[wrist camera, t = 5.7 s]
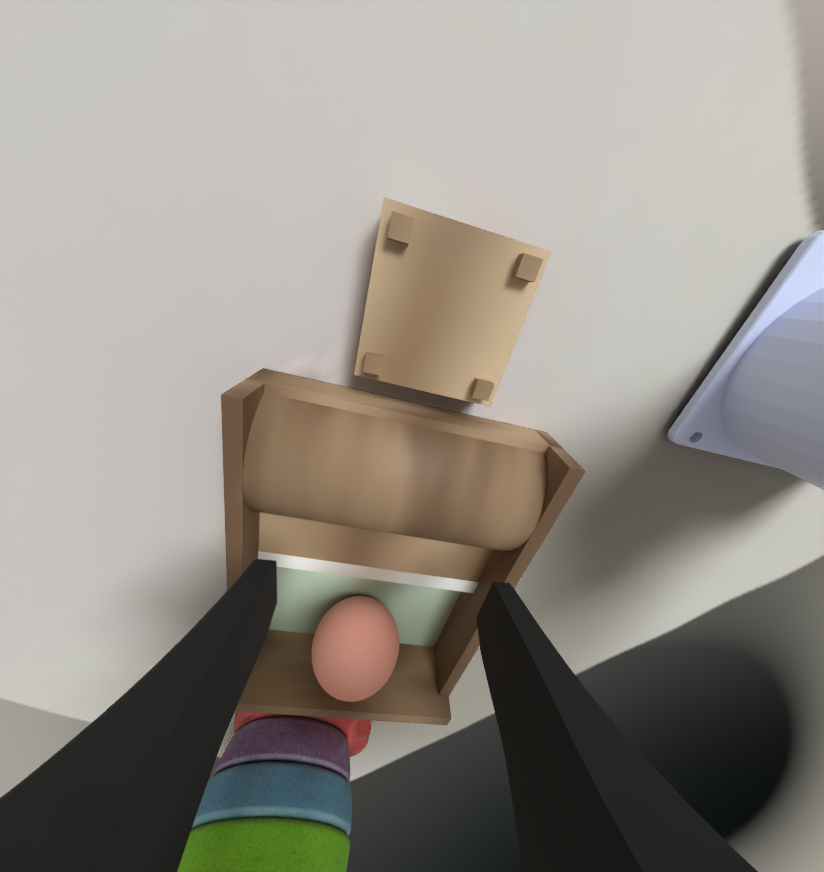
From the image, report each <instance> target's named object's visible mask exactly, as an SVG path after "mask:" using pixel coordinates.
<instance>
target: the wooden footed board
mask: <svg viewBox="0 0 824 872" xmlns="http://www.w3.org/2000/svg"><path fill="white" fill-rule="evenodd" d="M550 254H551V251H548V250H545V249H542V248H539V247H536V246H533V245H529V244H526V243H523V242H520V241H517V240H514V239H511V238H508V237H505V236H502V235H499V234H496V233H492V232H489V231H486V230H483V229H480V228H477V227H474V226H471V225H468V224H465V223H462V222H458V221H455V220H452V219H449V218H446V217H443V216H440V215H437V214H434V213H431V212H428V211H424V210H421V209H418V208H415V207H412V206H409V205H406V204H403V203H400V202H397V201H394V200H390V199H387V198H384V200H383V206H382V212H381V218H380V224H379V229H378V235H377V241H376V247H375V253H374V259H373V265H372V271H371V277H370V282H369V288H368V294H367V300H366V306H365V312H364V318H363V324H362V330H361V335H360V341H359V347H358V353H357V359H356V365H355V371H354V375H357V376H361V377H365V378H369V379H374V380H378V381H382V382H387V383H391V384H395V385H399V386H404V387H408V388H412V389H417V390H421V391H425V392H429V393H434V394H438V395H442V396H447V397H451V398H455V399H459V400H464V401H468V402H472V403H477V404H481V405H485V406H489V407H490V406H491V403H492V401H493V398H494V396H495V393H496V391H497V388H498V386H499V383H500V380H501V378H502V375H503V373H504V370H505V368H506V365H507V363H508V360H509V358H510V355H511V353H512V350H513V348H514V345H515V342H516V340H517V337H518V335H519V332H520V330H521V327H522V325H523V322H524V320H525V317H526V315H527V312H528V310H529V307H530V305H531V302H532V299H533V297H534V294H535V292H536V289H537V287H538V284H539V282H540V279H541V277H542V274H543V272H544V269H545V267H546V264H547V261H548V259H549V256H550Z"/></svg>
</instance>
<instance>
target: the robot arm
mask: <svg viewBox="0 0 824 872" xmlns="http://www.w3.org/2000/svg"><path fill="white" fill-rule="evenodd" d="M668 438H669V440H671V441H672V442H674V443H676V444H678V445H682V446H686V447H691V448H695V449H699V450H703V451H708V452H712V453H716V454H720V455H724V456H729V457H733V458H737V459H741V460H746V461H750V462H754V463H758V464H762V465H767V466H771V467H775V468H779V469H782V470H784V471H786V472H788V473H790V474H792V475H794V476H797V477H799V478H801V479H803V480H805V481H807V482H809V483H811V484H813V485H815V486H817V487H819V488H821V489H823V490H824V230H821V231H817V232H814V233H812V234H810V235H809V236H808V237H806V238H805V239H804V240H803V241H802V243H801V244H800V245H799V246H798V248H797V249H796V251H795V252H794V253H793V255H792V256H791V258H790V259H789V260H788V262H787V263H786V265H785V266H784V268H783V269H782V270H781V272H780V273H779V275H778V276H777V277H776V279H775V280H774V282H773V283H772V285H771V286H770V287H769V289H768V290H767V292H766V293H765V295H764V296H763V297H762V299H761V300H760V302H759V303H758V304H757V306H756V307H755V309H754V310H753V312H752V313H751V314H750V316H749V317H748V319H747V320H746V321H745V323H744V324H743V326H742V327H741V329H740V330H739V331H738V333H737V334H736V336H735V337H734V338H733V340H732V341H731V343H730V344H729V346H728V347H727V348H726V350H725V351H724V353H723V354H722V356H721V357H720V358H719V360H718V361H717V363H716V364H715V365H714V367H713V368H712V370H711V371H710V373H709V374H708V375H707V377H706V378H705V380H704V381H703V382H702V384H701V385H700V387H699V388H698V390H697V391H696V392H695V394H694V395H693V397H692V398H691V399H690V401H689V402H688V404H687V405H686V407H685V408H684V409H683V411H682V412H681V414H680V415H679V417H678V418H677V419H676V421H675V422H674V424H673V425H672V426H671V428H670V429H669V432H668ZM276 605H277V566H276V561H274V560H263V559H255V560H254V561H252V563H251V564H250V565H249V566H248V568H247V569H246V570H245V571H244V572H243V573H242V575H241V576H240V577H239V578H238V579H237V581H236V582H235V583H234V584H233V585H232V586H231V587H230V589H229V590H228V591H227V592H226V593H225V594H224V595H223V596H222V597H221V599H220V600H219V601H218V602H217V603H216V604H215V605H214V606H213V607H212V608H211V609H210V610H209V612H208V613H207V614H206V615H205V616H204V617H203V618H202V619H201V620H200V621H199V622H198V623H197V624H196V625H195V626H194V627H193V628H192V629H191V631H190V632H189V633H188V634H187V635H186V636H185V637H184V638H183V639H182V640H181V641H180V642H179V643H177V644H176V645H175V646H174V647H173V648H172V649H171V650H170V651H169V652H168V653H167V654H166V655H165V656H164V657H163V658H162V659H161V660H160V661H159V662H158V663H157V664H156V665H155V666H154V667H153V668H152V669H151V670H150V671H149V672H148V673H147V674H146V675H145V676H143V677H142V678H141V679H140V680H139V681H138V682H137V683H136V684H135V685H134V686H133V687H132V688H131V689H129V690H128V691H127V692H126V693H125V694H124V695H123V696H122V697H121V698H119V699H118V700H117V701H116V702H115V703H114V704H113V705H112V706H110V707H109V708H108V709H107V710H106V711H105V712H104V713H103V714H101V715H100V716H99V717H98V718H97V719H96V720H94V721H93V722H92V723H91V724H90V725H89V726H88V727H86V728H85V729H84V730H83V731H82V732H81V733H79V734H78V735H77V736H76V737H75V738H73V739H72V740H71V741H70V742H69V743H68V744H66V745H65V746H64V747H63V748H62V749H61V750H60V751H58V752H57V753H56V754H55V755H53V756H52V757H51V758H50V759H49V760H48V761H46V762H45V763H44V764H42V765H41V766H40V767H39V768H38V769H36V770H35V771H34V772H33V773H32V774H30V775H29V776H28V777H27V778H25V779H24V780H23V781H21V783H19V784H18V785H17V786H15V787H14V788H13V789H11V790H10V791H9V792H8V793H6V794H5V795H4V796H2V797H1V798H0V872H177V871H178V868H179V865H180V862H181V859H182V856H183V853H184V850H185V847H186V844H187V841H188V838H189V835H190V832H191V829H192V826H193V823H194V820H195V817H196V814H197V811H198V808H199V805H200V802H201V800H202V797H203V794H204V791H205V788H206V785H207V782H208V779H209V777H210V773H211V771H212V768H213V765H214V762H215V759H216V757H217V754H218V751H219V748H220V746H221V743H222V741H223V738H224V736H225V733H226V731H227V728H228V726H229V723H230V721H231V719H232V716H233V714H234V712H235V709H236V707H237V705H238V702H239V700H240V698H241V695H242V693H243V691H244V688H245V686H246V684H247V681H248V679H249V677H250V674H251V672H252V670H253V667H254V665H255V663H256V660H257V658H258V655H259V653H260V651H261V648H262V646H263V644H264V641H265V639H266V636H267V633H268V630H269V627H270V624H271V621H272V617H273V614H274V611H275V608H276ZM476 619H477V627H478V635H479V642H480V649H481V655H482V659H483V664H484V668H485V672H486V676H487V681H488V685H489V689H490V693H491V697H492V701H493V706H494V710H495V714H496V718H497V722H498V726H499V730H500V734H501V739H502V743H503V748H504V753H505V758H506V764H507V770H508V776H509V782H510V788H511V794H512V800H513V807H514V813H515V819H516V827H517V833H518V840H519V847H520V854H521V861H522V869H523V872H757V871H756V870H755V869H754V868H753V867H752V866H751V865H750V864H749V863H748V862H746V860H745V859H744V858H743V857H741V856H740V855H739V854H738V853H737V852H736V851H735V850H734V849H733V848H732V847H731V846H730V845H729V844H728V843H727V842H726V841H725V840H724V839H723V838H722V837H721V836H720V835H719V834H718V833H717V832H716V831H715V830H714V829H713V828H712V827H711V826H710V825H709V824H708V823H707V822H706V821H705V820H704V819H703V818H702V817H701V816H700V815H699V814H698V813H697V812H696V811H695V810H694V809H693V808H692V807H691V806H690V805H689V804H688V803H687V802H686V801H685V800H684V799H683V798H682V797H681V796H680V795H679V794H678V793H677V792H676V791H675V790H674V788H673V787H672V786H671V785H670V784H669V783H668V782H667V781H666V780H665V779H664V778H663V777H662V776H661V775H660V774H659V773H658V772H657V771H656V769H655V768H654V767H653V766H652V765H651V764H650V763H649V762H648V761H647V760H646V759H645V758H644V757H643V756H642V755H641V754H640V752H639V751H638V750H637V749H636V748H635V747H634V746H633V744H632V743H631V742H630V741H629V740H628V739H627V738H626V737H625V735H624V734H623V733H622V732H621V731H620V730H619V728H618V727H617V726H616V725H615V724H614V723H613V721H612V720H611V719H610V718H609V717H608V716H607V714H606V713H605V712H604V711H603V710H602V708H601V707H600V706H599V705H598V704H597V703H596V701H595V700H594V699H593V697H592V696H591V695H590V694H589V692H588V691H587V690H586V689H585V687H584V686H583V685H582V683H581V682H580V681H579V680H578V678H577V677H576V676H575V674H574V673H573V672H572V670H571V669H570V668H569V666H568V665H567V664H566V662H565V661H564V660H563V658H562V657H561V656H560V654H559V653H558V651H557V650H556V649H555V647H554V646H553V645H552V643H551V642H550V640H549V639H548V638H547V636H546V635H545V633H544V632H543V631H542V629H541V628H540V626H539V625H538V623H537V622H536V620H535V619H534V618H533V616H532V615H531V613H530V612H529V610H528V609H527V607H526V606H525V604H524V603H523V601H522V600H521V598H520V597H519V596H518V594H517V593H516V591H515V590H514V588H513V587H512V585H511V584H510V583H505V582H494V581H493V583H492V585H491V587H490V589H489V591H488V594H487V596H486V598H485V600H484V602H483V605H482V607H481V609H480V611H479V613H478V615H477V618H476Z"/></svg>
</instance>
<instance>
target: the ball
mask: <svg viewBox="0 0 824 872" xmlns="http://www.w3.org/2000/svg"><path fill="white" fill-rule="evenodd" d="M398 654H399V633H398V628H397V625H396V622H395V620H394V618H393V616H392V614H391V613H390V611H389V610H388V609H387V608H386V607H385V606H384V605H383V604H382V603H381V602H379V601H377V600H375V599H373V598H370V597H366V596H354V597H349V598H347V599H344V600H342V601H340V602H338V603H337V604H336V605H334V606H333V607H332V608H331V609H330V610H329V611H328V612H327V613H326V614H325V615H324V617H323V618H322V620H321V621H320V623H319V625H318V627H317V630H316V632H315V635H314V638H313V643H312V652H311V656H312V665H313V670H314V673H315V676H316V678H317V680H318V682H319V684H320V685H321V687H322V688H323V689H324V690H325V691H326V692H327V693H328V694H329V695H331V696H333V697H334V698H336V699H338V700H342V701H348V702H354V701H360V700H363V699H366V698H368V697H370V696H372V695H373V694H375V693H376V692H377V691H379V690H380V689H381V688H382V687H383V686H384V685H385V683H386V682H387V681H388V679H389V678H390V676H391V674H392V673H393V670H394V668H395V665H396V662H397V659H398Z"/></svg>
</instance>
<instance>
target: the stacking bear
mask: <svg viewBox="0 0 824 872" xmlns="http://www.w3.org/2000/svg"><path fill="white" fill-rule="evenodd" d="M234 729H235V735H234V736H233V738H232V739H231V741H230V743H229V744H228V746H227V748H226V750H225V752H224V753H223V755H222V757H221V759H220V761H219V763H218V765H217V767H216V769H215V771H214V774H213V778H211V780H210V781H209V782H208V783H207V785H206V788H205V791H204V794H203V797H202V800H201V802H200V805H199V808H198V811H197V814H196V817H195V820H194V823H193V826H192V829H191V832H190V835H189V838H188V841H187V844H186V847H185V850H184V853H183V856H182V859H181V862H180V865H179V868H178V871H177V872H346V867H347V862H348V855H349V848H350V842H349V839H348V835H349V833H350V830H351V787H350V785H349V782H350V758H349V757H351V756H354V755H356V754H358V753H359V752H361V751H362V750H363V749H364V748H365V747H366V745H367V742H368V738H369V735H370V730H371V722H370V720H362V719H348V718H333V717H318V716H303V715H288V714H273V713H258V712H243V711H236V715H235V724H234Z"/></svg>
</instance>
